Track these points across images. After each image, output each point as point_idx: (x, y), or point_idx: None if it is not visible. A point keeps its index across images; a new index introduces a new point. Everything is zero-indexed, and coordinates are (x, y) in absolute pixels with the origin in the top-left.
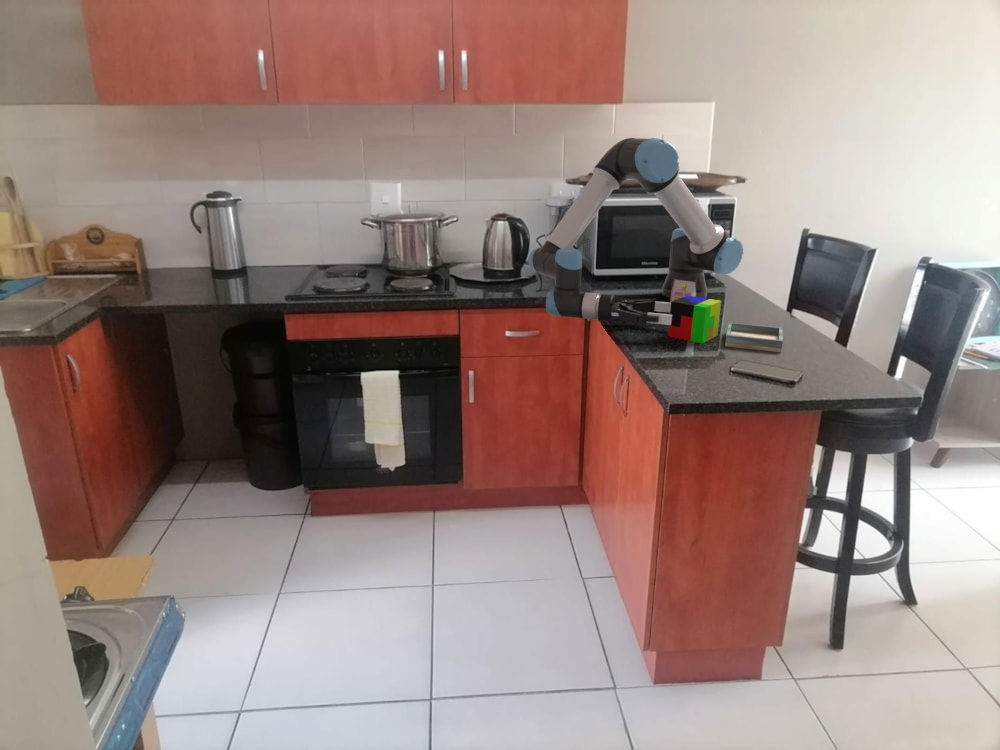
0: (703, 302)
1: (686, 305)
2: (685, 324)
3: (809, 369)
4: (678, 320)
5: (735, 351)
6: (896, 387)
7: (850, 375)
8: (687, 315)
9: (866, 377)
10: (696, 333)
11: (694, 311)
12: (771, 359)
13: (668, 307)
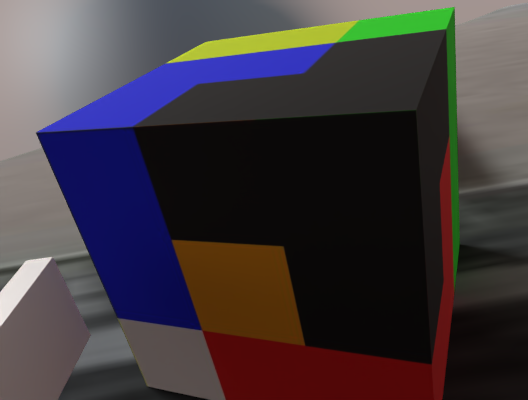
0: (294, 44)
1: (438, 61)
2: (445, 225)
3: (522, 56)
4: (439, 243)
5: (489, 150)
6: (516, 12)
7: (498, 34)
8: (445, 145)
9: (489, 28)
10: (455, 219)
11: (449, 78)
12: (499, 95)
13: (21, 372)
